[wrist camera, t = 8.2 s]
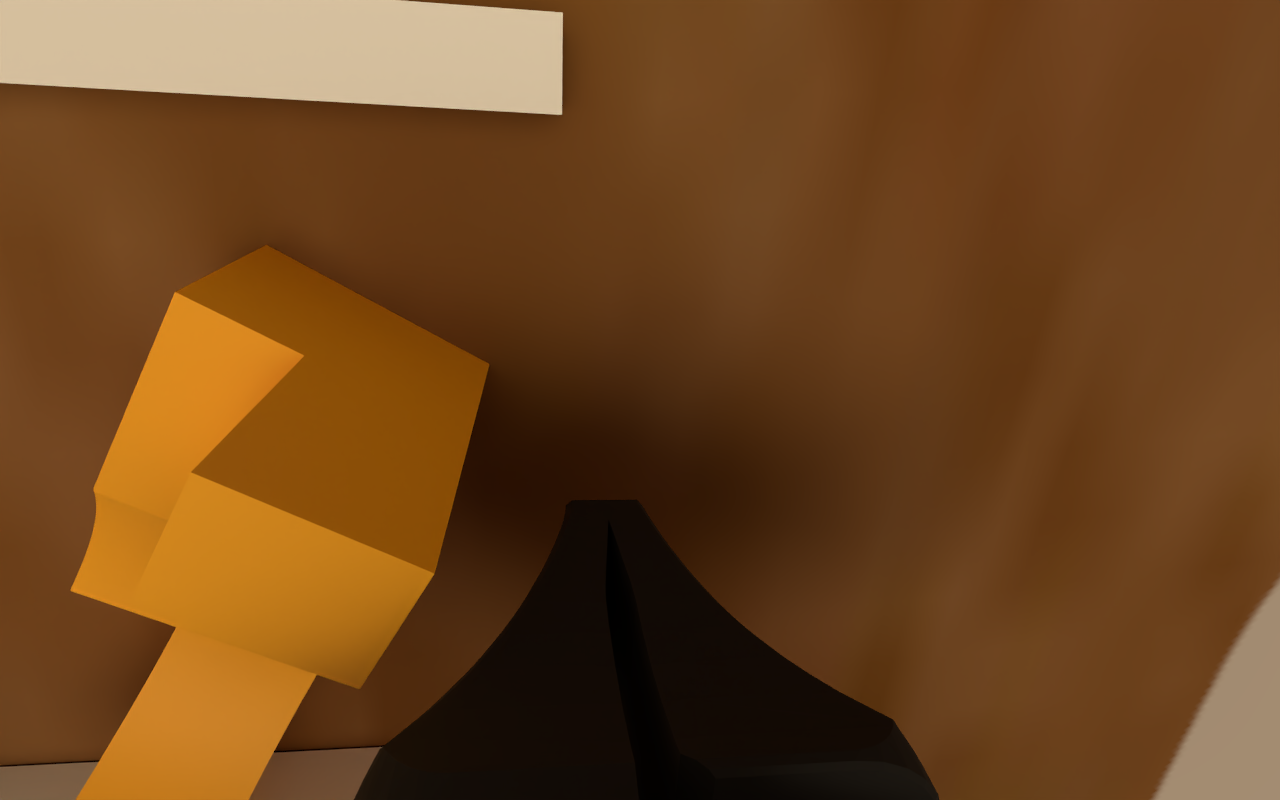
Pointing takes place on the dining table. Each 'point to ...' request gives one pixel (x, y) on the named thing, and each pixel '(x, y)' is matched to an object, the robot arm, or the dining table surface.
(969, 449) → the dining table surface
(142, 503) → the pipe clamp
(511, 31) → the bracket
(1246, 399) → the dining table surface
